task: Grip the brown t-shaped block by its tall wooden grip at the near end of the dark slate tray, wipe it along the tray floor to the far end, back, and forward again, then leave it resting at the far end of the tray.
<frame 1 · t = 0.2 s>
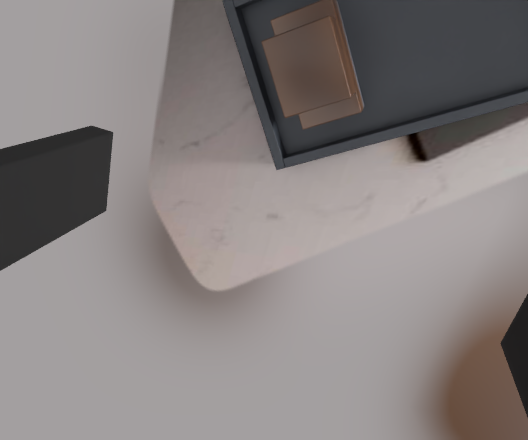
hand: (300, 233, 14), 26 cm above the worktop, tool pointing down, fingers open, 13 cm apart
brown t-shaped block: (323, 64, 35), point 1 cm above the worktop, touching tray
tray: (387, 42, 34), on the worktop
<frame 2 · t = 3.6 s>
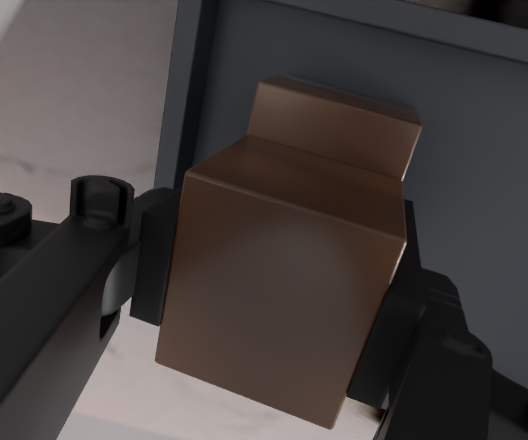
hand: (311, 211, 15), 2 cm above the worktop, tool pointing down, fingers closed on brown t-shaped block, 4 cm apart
brown t-shaped block: (317, 199, 17), point 1 cm above the worktop, touching gripper, tray
tray: (451, 233, 17), on the worktop
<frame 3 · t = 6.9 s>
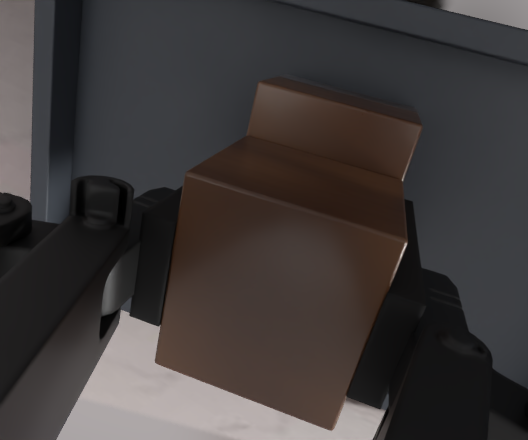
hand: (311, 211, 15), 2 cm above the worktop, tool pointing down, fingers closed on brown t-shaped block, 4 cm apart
brown t-shaped block: (317, 199, 17), point 1 cm above the worktop, touching gripper
tray: (316, 191, 17), on the worktop
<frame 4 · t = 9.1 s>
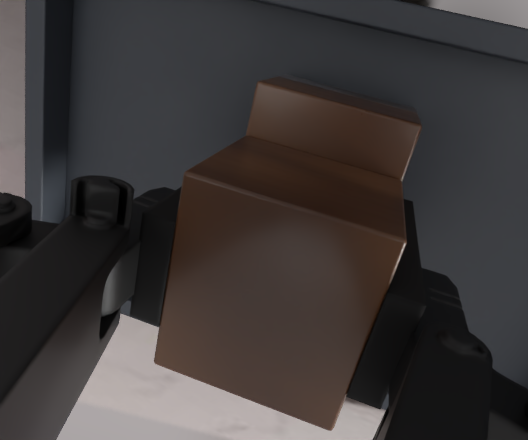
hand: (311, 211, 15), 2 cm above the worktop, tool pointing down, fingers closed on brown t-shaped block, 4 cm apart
brown t-shaped block: (317, 199, 17), point 1 cm above the worktop, touching gripper
tray: (309, 191, 17), on the worktop
when the fingers open (2 cm above the worktop, at t = 10.3 s): brown t-shaped block stays where it is, resting on tray.
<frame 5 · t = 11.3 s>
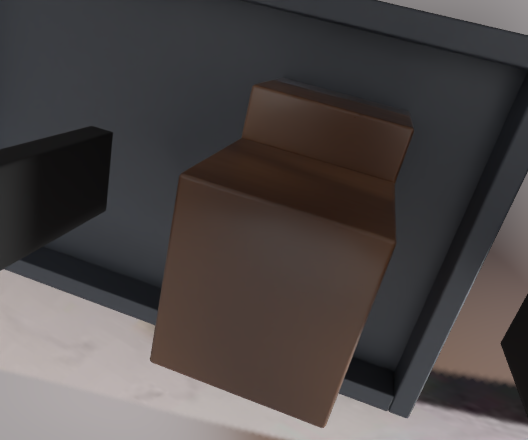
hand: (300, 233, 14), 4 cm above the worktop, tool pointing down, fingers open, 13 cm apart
brown t-shaped block: (312, 201, 17), point 1 cm above the worktop, touching tray
tray: (200, 159, 18), on the worktop
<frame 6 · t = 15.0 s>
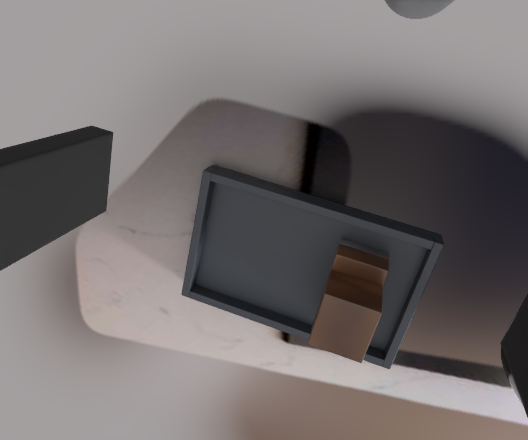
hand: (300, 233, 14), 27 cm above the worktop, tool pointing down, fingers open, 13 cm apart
brown t-shaped block: (351, 282, 42), point 1 cm above the worktop, touching tray
tray: (303, 262, 44), on the worktop
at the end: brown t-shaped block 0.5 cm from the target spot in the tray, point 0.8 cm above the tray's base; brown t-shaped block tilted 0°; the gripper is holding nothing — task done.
